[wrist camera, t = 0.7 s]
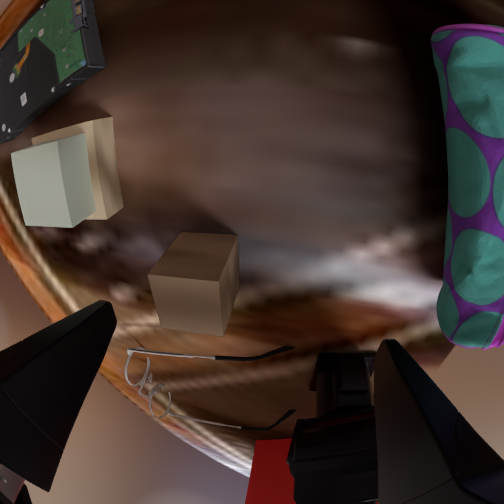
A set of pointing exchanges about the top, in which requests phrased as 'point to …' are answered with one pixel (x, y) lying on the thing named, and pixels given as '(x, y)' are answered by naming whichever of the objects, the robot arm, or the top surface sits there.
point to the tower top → (54, 182)
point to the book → (271, 474)
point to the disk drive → (47, 61)
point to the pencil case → (473, 183)
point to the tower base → (97, 163)
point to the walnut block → (197, 283)
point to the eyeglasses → (230, 358)
